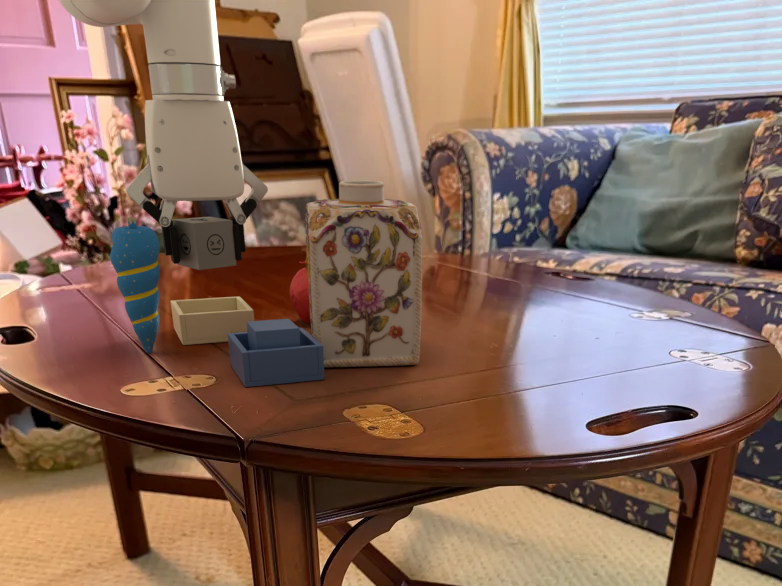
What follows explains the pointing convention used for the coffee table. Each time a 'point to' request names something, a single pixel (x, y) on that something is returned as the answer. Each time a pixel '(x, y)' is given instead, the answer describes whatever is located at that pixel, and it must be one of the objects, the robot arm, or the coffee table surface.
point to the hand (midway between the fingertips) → (206, 259)
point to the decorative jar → (364, 277)
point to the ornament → (138, 277)
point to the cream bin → (210, 319)
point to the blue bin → (276, 361)
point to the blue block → (272, 334)
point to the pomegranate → (301, 294)
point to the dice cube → (205, 242)
